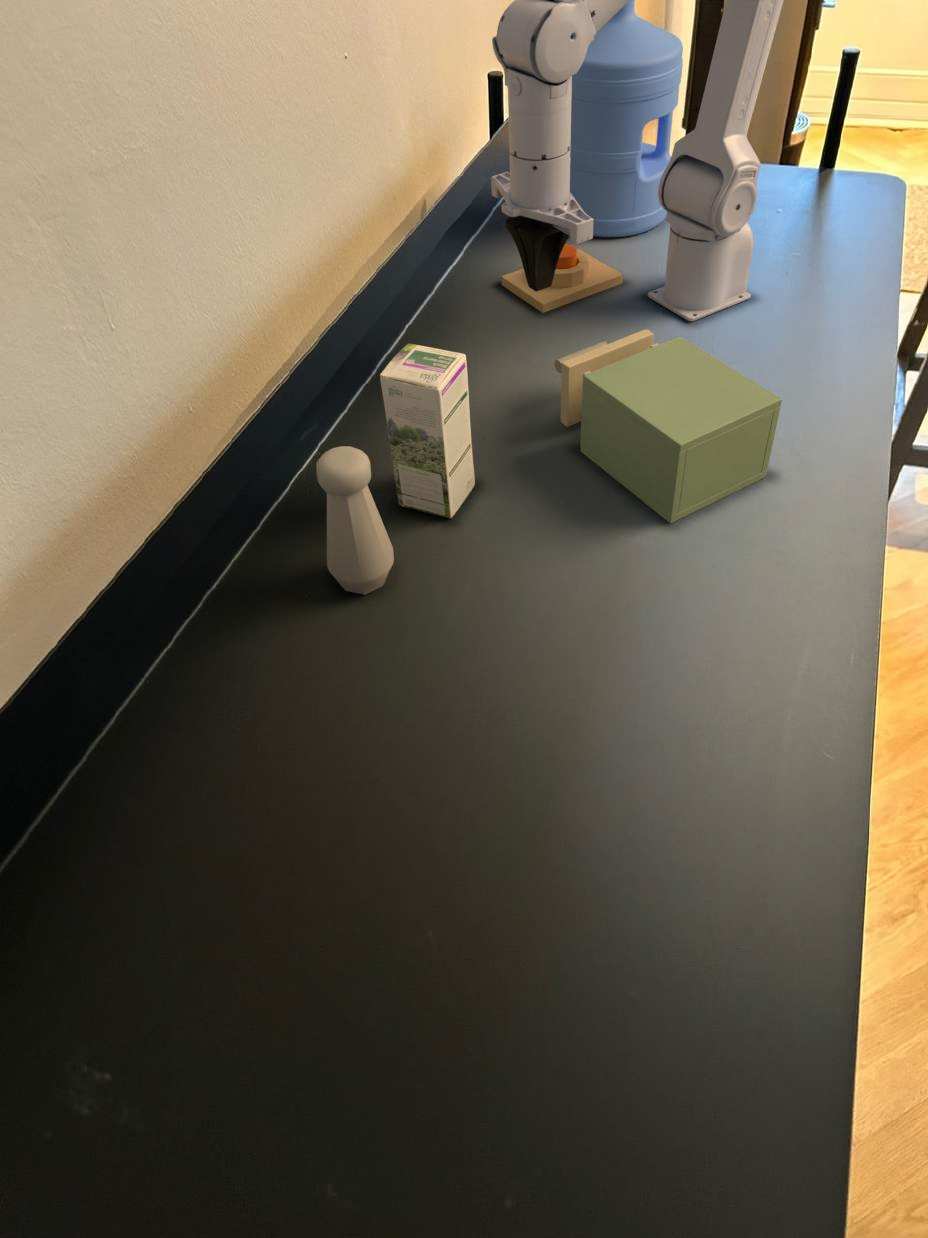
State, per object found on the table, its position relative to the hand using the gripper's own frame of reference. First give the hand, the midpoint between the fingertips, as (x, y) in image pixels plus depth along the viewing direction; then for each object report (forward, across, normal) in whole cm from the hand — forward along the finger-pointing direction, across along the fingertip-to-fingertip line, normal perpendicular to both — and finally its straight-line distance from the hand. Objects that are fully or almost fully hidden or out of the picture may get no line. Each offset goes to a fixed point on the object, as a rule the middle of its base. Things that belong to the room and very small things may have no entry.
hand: (540, 286), depth 99 cm
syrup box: (+10, +13, -21) cm, 26 cm away
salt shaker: (+10, +19, -32) cm, 38 cm away
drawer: (+9, +15, 0) cm, 17 cm away
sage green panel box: (+9, +22, 0) cm, 24 cm away
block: (+9, -14, +13) cm, 21 cm away
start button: (+7, -14, +13) cm, 20 cm away
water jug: (+10, -26, +30) cm, 41 cm away
